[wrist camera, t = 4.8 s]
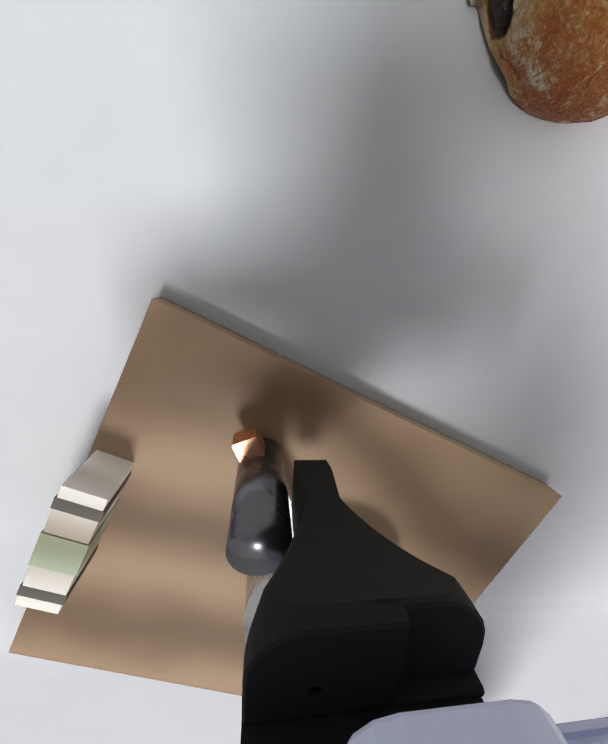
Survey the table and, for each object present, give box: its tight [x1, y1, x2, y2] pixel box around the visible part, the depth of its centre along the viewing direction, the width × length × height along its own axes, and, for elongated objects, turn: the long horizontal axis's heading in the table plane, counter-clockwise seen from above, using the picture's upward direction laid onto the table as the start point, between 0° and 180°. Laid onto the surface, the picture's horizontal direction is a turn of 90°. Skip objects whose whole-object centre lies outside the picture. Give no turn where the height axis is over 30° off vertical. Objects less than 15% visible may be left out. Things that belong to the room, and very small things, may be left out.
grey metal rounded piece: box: [225, 425, 294, 643], centre depth 13 cm, size 14×8×5 cm, turn 20°
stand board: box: [8, 297, 562, 696], centre depth 16 cm, size 20×23×4 cm
